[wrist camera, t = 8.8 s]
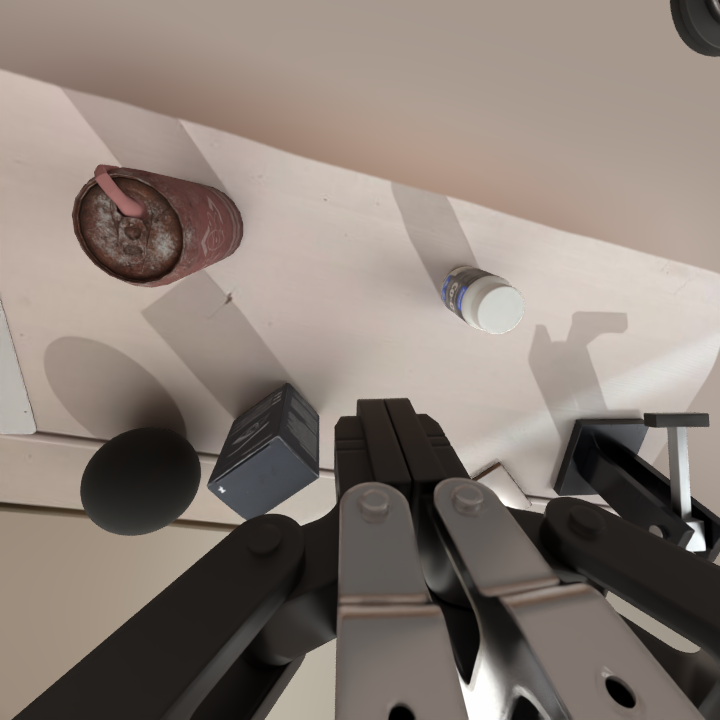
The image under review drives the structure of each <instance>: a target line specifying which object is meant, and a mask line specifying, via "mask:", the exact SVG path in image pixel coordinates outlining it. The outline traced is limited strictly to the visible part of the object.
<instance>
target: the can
mask: <svg viewBox="0 0 720 720" xmlns="http://www.w3.org/2000/svg"><path fill="white" fill-rule="evenodd" d="M94 174H95V177H93V178H92V179H90V180H89V181H88V183H87V184H85V185H84V186H83V188H82V189H81V191H80V192H79V194H78V195H77V197H76V198H75V203H74V208H73V213H72V218H73V225H74V232H75V235H76V237H77V239H78V241H79V243H80V245H81V248H82V250H83V251H84V252H85V253H86V255H87V256H88V257H89V258H90V259H91V261H92V262H93V263H94V264H95V265H96V266H98V267H99V268H100V269H102V270H103V271H104V272H106V273H107V274H108V275H110V276H112V277H115V278H117V279H119V280H122V281H124V282H127V283H129V284H132V285H135V286H143V287H157V286H162V285H168V284H170V283H172V282H174V281H177V280H179V279H181V278H183V277H185V276H188V275H190V274H192V273H194V272H196V271H198V270H201V269H203V268H205V267H207V266H209V265H212V264H214V263H216V262H218V261H220V260H222V259H224V258H226V257H228V256H230V255H231V254H233V253H234V251H235V250H236V249H237V248H238V247H239V245H240V242H241V239H242V237H243V222H242V218H241V215H240V212H239V210H238V209H237V207H236V205H235V204H234V202H233V201H232V200H231V199H230V198H229V197H228V196H227V195H226V194H225V193H223V192H221V191H219V190H217V189H215V188H213V187H210V186H205V185H201V184H197V183H193V182H189V181H185V180H180V179H176V178H172V177H168V176H164V175H159V174H155V173H151V172H147V171H142V170H136V169H130V168H124V167H122V168H119V167H116V166H109V165H98V166H97V168H96V170H95V171H94Z"/></svg>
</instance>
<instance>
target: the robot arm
mask: <svg viewBox="0 0 720 720" xmlns="http://www.w3.org/2000/svg"><path fill="white" fill-rule="evenodd" d="M705 3H706V6H707V8H708V11H709V12H710V14H711V16H712V17H713V18H714V20H715V21H716V22H717V23H719V24H720V0H705ZM334 472H335V487H336V502H337V504H336V505H335V507H334V508H333V509H332V510H331V511H330V512H329V513H328V514H327V515H325V516H324V517H322V518H320V519H318V520H316V521H313V522H311V523H308V524H305V525H302V526H300V525H299V524H298V523H297V522H296V521H295V520H293V519H292V518H290V517H288V516H285V515H281V514H265V515H260V516H256V517H254V518H251V519H249V520H247V521H246V522H244V523H242V524H241V525H240V526H238V527H237V528H236V529H235V530H233V531H232V532H231V533H230V534H229V535H228V536H226V537H225V538H224V539H223V540H222V541H221V542H219V544H217V545H216V546H215V547H214V548H213V549H211V550H210V551H209V552H208V553H207V554H205V555H204V556H203V557H202V558H201V559H199V560H198V561H197V562H196V563H195V564H194V565H192V566H191V567H190V568H189V569H188V570H187V571H185V572H184V573H183V574H182V575H181V576H180V577H178V578H177V579H176V580H175V581H174V582H172V583H171V584H170V585H169V586H168V587H167V588H165V590H163V591H162V592H161V593H160V594H158V595H157V596H156V597H155V598H154V599H153V600H151V601H150V602H149V603H148V604H147V605H145V606H144V607H143V608H142V609H141V610H140V611H139V612H138V613H136V614H135V615H134V616H133V617H131V618H130V619H129V620H128V621H127V622H126V623H124V624H123V625H122V626H121V627H120V628H119V629H117V630H116V631H115V632H114V633H113V634H111V635H110V636H109V637H108V638H107V639H106V640H104V641H103V642H102V643H101V644H100V645H99V646H97V647H96V648H95V649H94V650H93V651H92V652H90V653H89V654H88V655H87V656H86V657H84V658H83V659H82V660H81V661H80V662H79V663H77V664H76V665H75V666H74V667H73V668H72V669H70V670H69V671H68V672H67V673H66V674H65V675H63V676H62V677H61V678H60V679H59V680H58V681H56V682H55V683H54V684H53V685H52V686H51V687H49V688H48V689H47V690H46V691H45V692H43V693H42V694H41V695H40V696H39V697H38V698H36V699H35V700H34V701H33V702H32V703H30V704H29V705H28V706H27V707H26V708H25V709H23V710H22V711H21V712H20V713H19V714H18V715H17V716H15V717H14V718H13V719H12V720H264V719H265V718H266V717H267V715H268V714H269V712H270V711H271V709H272V707H273V706H274V704H275V703H276V701H277V700H278V698H279V697H280V695H281V694H282V692H283V691H284V689H285V688H286V686H287V685H288V683H289V682H290V680H291V679H292V677H293V676H294V674H295V673H296V671H297V670H298V668H299V667H300V665H301V663H302V661H303V660H304V658H305V655H306V653H308V652H310V651H312V650H314V649H315V648H317V647H319V646H321V645H323V644H325V643H327V642H329V641H331V640H333V639H335V638H337V644H336V648H337V649H336V688H335V689H336V692H335V720H720V566H718V565H716V564H714V563H712V562H710V561H708V560H706V559H704V558H702V557H700V556H698V555H696V554H694V553H692V552H690V551H688V550H686V549H684V548H682V547H680V546H678V545H676V544H674V543H672V542H670V541H667V540H665V539H663V538H661V537H659V536H657V535H655V534H653V533H651V532H649V531H647V530H645V529H643V528H641V527H639V526H637V525H635V524H633V523H631V522H629V521H627V520H625V519H623V518H621V517H619V516H617V515H615V514H613V513H611V512H609V511H607V510H604V509H602V508H600V507H598V506H596V505H594V504H592V503H590V502H587V501H584V500H581V499H577V498H572V497H558V498H555V499H553V500H551V501H550V502H549V503H548V504H547V506H546V509H545V512H544V514H542V513H536V512H531V511H526V510H521V509H516V508H511V507H508V506H505V505H504V504H503V503H502V501H501V500H500V499H499V497H498V496H497V495H496V494H495V493H494V492H493V491H492V490H491V489H490V488H488V487H487V486H485V485H484V484H482V483H480V482H477V481H475V480H471V478H470V476H469V475H468V473H467V471H466V470H465V468H464V466H463V464H462V463H461V461H460V459H459V458H458V456H457V454H456V452H455V451H454V449H453V447H452V446H451V445H450V442H449V440H448V439H447V437H445V434H444V432H443V430H442V428H441V427H440V425H439V423H438V422H436V421H435V420H434V419H432V418H431V417H430V416H428V415H427V414H416V413H415V411H414V409H413V407H412V405H411V403H410V401H409V399H408V398H390V399H358V400H357V414H356V416H343V417H340V419H339V421H338V422H337V424H336V425H335V446H334ZM608 591H610V592H612V593H614V594H615V595H617V596H618V597H620V598H621V599H623V600H625V601H626V602H628V603H630V604H631V605H633V606H634V607H636V608H638V609H639V610H641V611H643V612H644V613H646V614H647V615H649V616H651V617H652V618H654V619H655V620H657V621H659V622H660V623H662V624H664V625H665V626H667V627H668V628H670V629H672V630H673V631H675V632H676V633H678V634H680V635H681V636H683V637H685V638H686V639H688V640H690V641H691V642H693V643H694V644H696V645H697V646H699V647H701V649H700V650H699V651H698V652H695V653H685V652H682V651H679V650H676V649H674V648H672V647H670V646H669V645H667V644H666V643H664V642H663V641H661V640H659V639H658V638H656V637H655V636H653V635H652V634H650V633H649V632H647V631H646V630H644V629H642V628H641V627H639V626H638V625H636V624H635V623H633V622H632V621H630V620H628V619H627V618H625V617H624V616H622V615H621V614H619V613H618V612H616V611H615V609H614V608H613V607H612V606H611V604H610V603H609V602H608V601H607V600H606V599H605V598H606V595H607V593H608Z"/></svg>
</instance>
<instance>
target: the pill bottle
mask: <svg viewBox="0 0 720 720" xmlns="http://www.w3.org/2000/svg"><path fill="white" fill-rule="evenodd" d="M441 295H442V300H443V302H444V304H445V306H446V307H447V308H448V309H450V310H451V311H452V312H454V313H455V314H456V315H457V316H459V317H460V318H461V319H463V320H464V321H465V322H466V323H467V324H469V325H470V326H472V327H474V328H476V329H480V330H484V331H486V332H488V333H491V334H502V333H505V332H508V331H510V330H511V329H513V328H514V327H515V326H516V325H517V324H518V323H519V322H520V320H521V318H522V316H523V314H524V309H525V302H524V298H523V296H522V294H521V293H520V292H519V291H518V290H517V289H516V288H514V287H512V286H511V285H510V283H509V282H508V281H507V280H505V279H503V278H501V277H499V276H496V275H494V274H491V273H488V272H486V271H483V270H480V269H477V268H474V267H470V266H465V267H460V268H457V269H455V270H453V271H452V272H451V273H450V274H449V275H448V276H447V277H446V279H445V280H444V282H443V285H442V290H441Z"/></svg>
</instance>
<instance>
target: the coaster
mask: <svg viewBox="0 0 720 720" xmlns="http://www.w3.org/2000/svg"><path fill="white" fill-rule="evenodd" d="M472 480H475V481H477V482H480V483H482V484H484V485H485V486H487V487H488V488H490V489H491V490H492V491H493V492H494V493H495V494H496V495H497V496H498V497H499V499H500V500H501V501H502V503H503V504H504V505H505V506H508V507H511V508H516V509H521V510H524V509H526V508H528V507H529V506H531V505H532V504H531V503H530V501H529V500H528V499H527V498H526V496H525V495H524V494H523V492H522V491H521V490H520V488H519V487H518V486H517V484H516V483H515V482H514V480H513V479H512V478H511V476H510V475H509V474H508V472H507V471H506V470H505V468H504V467H503V466H502V465H501V463H500V462H499V463H497V464H496V465H494V466H492V467H491V468H489V469H488V470H486V471H485V472H483V473H481V474H480V475H478V476H477V477H475V478H474V479H472Z"/></svg>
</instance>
